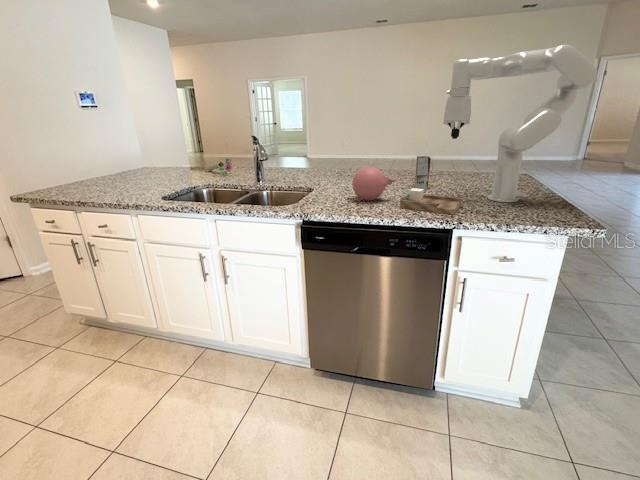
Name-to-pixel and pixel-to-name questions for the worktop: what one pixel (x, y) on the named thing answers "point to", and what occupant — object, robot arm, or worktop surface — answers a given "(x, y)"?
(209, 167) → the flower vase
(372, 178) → the balloon
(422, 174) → the coffee box
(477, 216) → the worktop surface
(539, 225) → the worktop surface
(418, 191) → the block
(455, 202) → the box
